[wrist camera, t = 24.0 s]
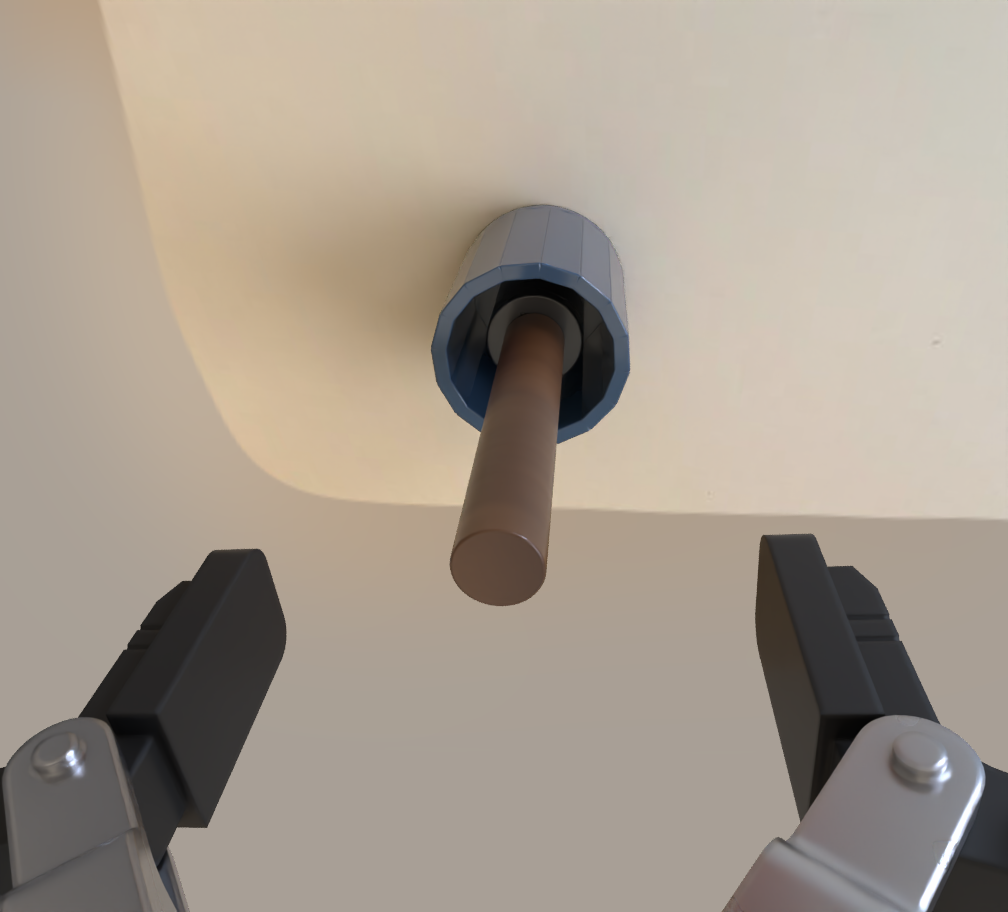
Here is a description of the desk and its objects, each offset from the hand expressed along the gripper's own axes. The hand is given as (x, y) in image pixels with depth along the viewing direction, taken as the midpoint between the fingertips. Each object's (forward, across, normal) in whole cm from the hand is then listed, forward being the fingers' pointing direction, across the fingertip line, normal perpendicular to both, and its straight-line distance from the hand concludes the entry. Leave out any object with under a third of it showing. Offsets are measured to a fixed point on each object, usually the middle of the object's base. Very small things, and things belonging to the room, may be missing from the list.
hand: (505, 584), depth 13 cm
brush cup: (+20, +1, +2) cm, 21 cm away
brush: (+20, 0, +2) cm, 20 cm away
